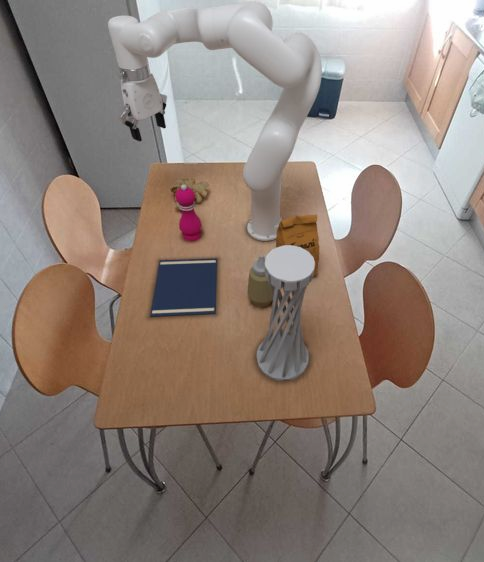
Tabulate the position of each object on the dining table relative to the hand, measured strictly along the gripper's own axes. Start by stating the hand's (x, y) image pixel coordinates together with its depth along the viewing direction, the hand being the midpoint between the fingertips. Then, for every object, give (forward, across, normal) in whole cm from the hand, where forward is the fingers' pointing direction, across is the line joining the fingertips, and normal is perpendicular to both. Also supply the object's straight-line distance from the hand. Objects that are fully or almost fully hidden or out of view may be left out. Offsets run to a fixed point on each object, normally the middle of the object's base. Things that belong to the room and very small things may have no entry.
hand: (149, 133), depth 117 cm
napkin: (+31, -22, -28) cm, 47 cm away
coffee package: (+31, +2, -52) cm, 61 cm away
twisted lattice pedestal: (+31, -25, -65) cm, 77 cm away
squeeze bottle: (+31, -13, -50) cm, 60 cm away
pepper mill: (+31, -4, -14) cm, 34 cm away
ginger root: (+31, +11, +1) cm, 33 cm away
